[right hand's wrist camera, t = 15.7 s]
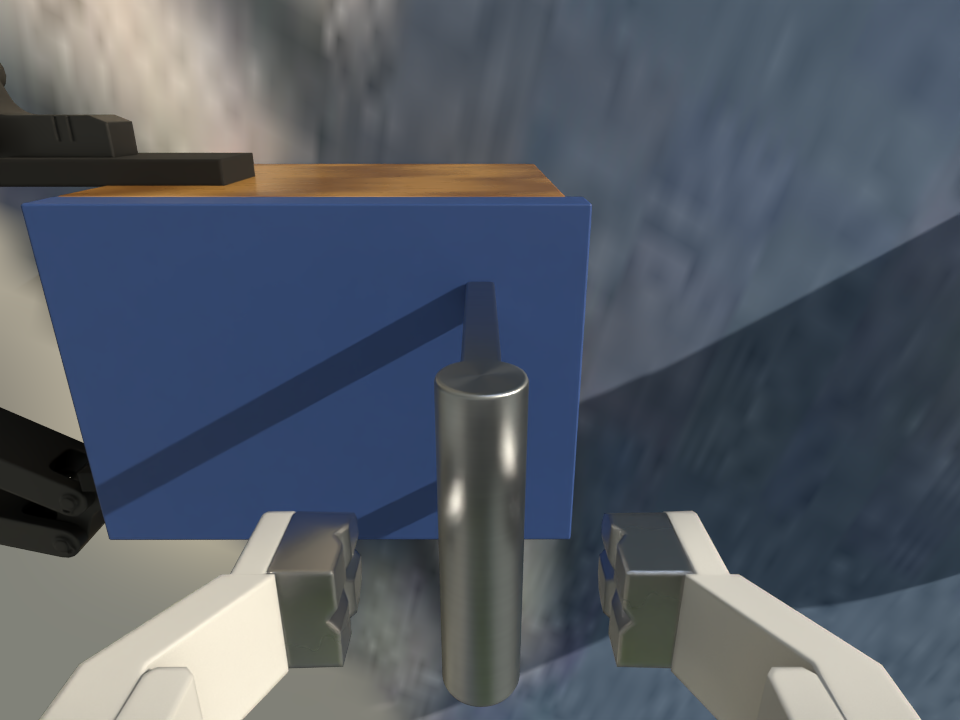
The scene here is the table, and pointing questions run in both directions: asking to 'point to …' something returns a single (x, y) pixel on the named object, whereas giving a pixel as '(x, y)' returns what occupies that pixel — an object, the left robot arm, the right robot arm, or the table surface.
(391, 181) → the chest
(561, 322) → the lid
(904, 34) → the table surface
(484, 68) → the table surface
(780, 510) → the table surface
